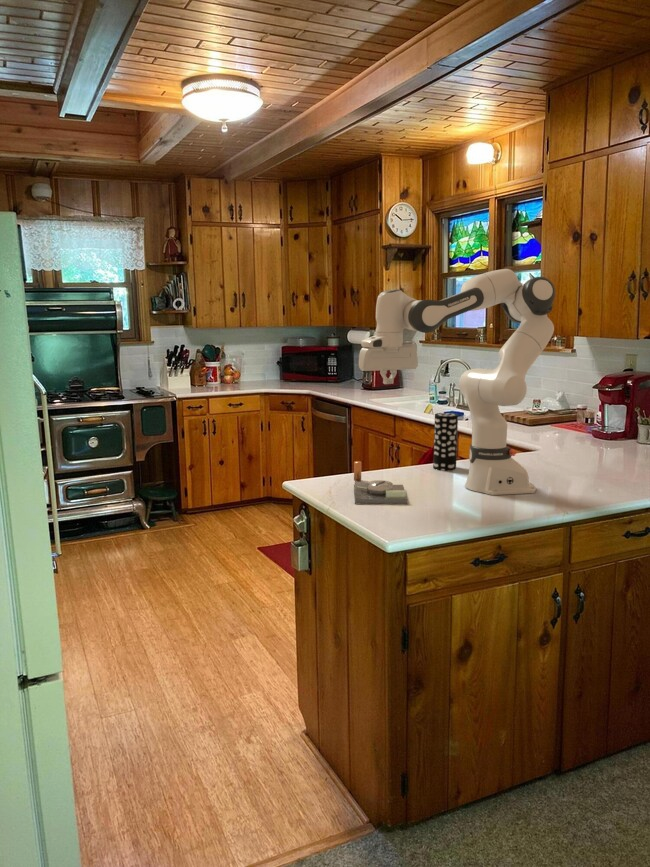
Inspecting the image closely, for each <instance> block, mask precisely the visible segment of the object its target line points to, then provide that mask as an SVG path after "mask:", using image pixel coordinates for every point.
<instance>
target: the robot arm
mask: <svg viewBox="0 0 650 867" xmlns="http://www.w3.org/2000/svg"><path fill="white" fill-rule="evenodd" d="M555 297H556V287H555V285H554V282H552V280H550V279H549V278H547V277H544V276H536V277H533V278H529V279H528V280H527V281H526V282H525V283H522V282H521V281H520V280H519V278H518V275H517V274H516V273H515V272H514V270H512V269H510V268H502V269H497V270H491V271H487V272H484V273H480V274H477V275H476V276H473V277H471V278H470V279H468V280H466V281H465V282H463V283H462V285H461V288H460V292H457V293H456V294H454V295H450V296H449V297H446V298H443V299H441V300H433V299H422V300H417V299H416V298H413V297H411V296H409V295H407V294H406V293H404V292H403V291H402V289H390V290H385V291H382V292H380V293H379V294H378V296H377V299H376V303H375V304H376V306H375V321H376V328H375V335H373V336H370V337H368V338H364V339H362V340H361V342H360V344H361V347H362V348H361V349H360V350H359V355H358V368H359V370H360V371H362V372H373V371H375V372H377V371H378V372H379V374H380V375H381V378H382V384H384V385H394V380H395V378H396V376H397V374H398V370H403V371H404V370H416V369H417V367H418V365H419V363H418V362H419V361H418V360H419V359H418V352H417V351H418V344H417V343H416V342H415V341H414V340H404V330H405V329H407V330H409V331H415V332H417V331H418V332H420V333H422V334H423V333H425V334H428V333H429V334H430V333H433V332H434V331H436V330H437V329H438V328H440V327H441V326H442V324H444V323H445V322H446V321H447V320H450V319H452V318H454V317H457V316H459V315H462V314H464V313H467V312H470V311H471V312H475V311H480V310H484V309H488V308H490V307H493V306H497V305H498V304H500V305H501V308H502V309H503V310H504V313H505V315H506V317H507V318H508V319H509V320H510V321H511V322H512V323H514V324H519V326H518V327H517V329H516V330H515V331H514V332H513V333H512V334H511V336H510V337H509V338H508V339H507V340H506V342H505V343H504V344H503V345H502V346H501V348H500V349H499V352H498V357H499V360H500V362H499V364H498V365H497V367H495V368H494V369H489V368H484V367H483V368H482V367H478V368H472V369H471V368H470V369H466V370H465V371H463V373H462V374H461V376H460V378H459V380H458V388H459V392H460V393H461V395H462V396H463V398H465V401H466V402H467V406H468V409H469V413H470V418H471V443H470V447H469V470H468V474H467V478H466V482H465V483H464V487H465V488H466V489H468V490H471V491H473V492H479V493H484V494H487V495H491V496H497V495H498V496H499V495H500V496H501V495H515V494H516V495H518V494H520V495H521V494H534V493H536V491H537V489H536V485H535V484H534V483H532V482H530V480H529V477H530V476H529V474H528V471H527V469H525V468H526V467H524V466H522V465H521V464H520V463H519V462H518V461H516V460H515V459H514V458H512V457H514V456H516V455H517V451H516V450H515V449H514V448H511V447H510V446H508V445H507V442H508V440H507V439H508V438H507V437H508V422H507V420H506V419H505V417H504V416H503V415H502V413H501V411H500V407H510V406H511V407H513V406H516V405H517V406H518V405H519V404H520V403H522V402H523V400H525V397H526V394H527V389H528V388H527V383H526V381H525V380H526V375H527V374H528V371H529V369H530V368H531V366H532V365H533V364H534V363H535V361H536V360H538V358H539V356H540V355H541V354H542V352H543V351H544V350H545V349H546V347H547V345H548V344H549V342H550V340H551V339H552V337H553V335H554V332H555V325H554V323H553V322H552V320H551V319H550V318H549V317H548V315H549V314H550V313H551V312H552V311H553V307H554V306H553V305H554V300H555ZM388 371H389V377H387V374H388ZM390 373H391V374H390Z"/></svg>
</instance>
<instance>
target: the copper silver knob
mask: <svg viewBox="0 0 650 867" xmlns="http://www.w3.org/2000/svg"><path fill="white" fill-rule="evenodd" d="M353 481H354V484H355V486H359V487H365V488H367V492H368V493H371V494H376V495H385V494H386V490H393V485H394V484H393V482H392V481H388V480H382V479H381V480H380V479H379V480H369V481H368V480H364V479H363V480H362V461H360V460H356V461H353Z"/></svg>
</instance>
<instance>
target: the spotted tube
mask: <svg viewBox="0 0 650 867" xmlns="http://www.w3.org/2000/svg"><path fill="white" fill-rule="evenodd" d="M458 426H459V414H457V413H453V412H451V413H450V412H437V413H435V414H434V433H433V434H434V435H433V436H434V437H433V459H432V460H433V465H432V467H433V469H434V470H436V469H437V470H436V471H441V470H443V471H442V472H448V471H449V472H450V471H455V470H457V459H458V458H457V454H458V452H457V451H458V429H459V427H458Z"/></svg>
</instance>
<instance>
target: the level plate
mask: <svg viewBox="0 0 650 867" xmlns="http://www.w3.org/2000/svg"><path fill="white" fill-rule="evenodd" d="M353 494H354V504H359V505H361V504H363V505H365V504H366V505H367V504H368V505H374V504H375V505H408V503H409V502H408V496H407V492H406V489H405V487H404V485H403V484H393V490H386V494H385V495H376V494H371V493H368V492H367V488H365V487H359V486H355V483H354V484H353Z"/></svg>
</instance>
